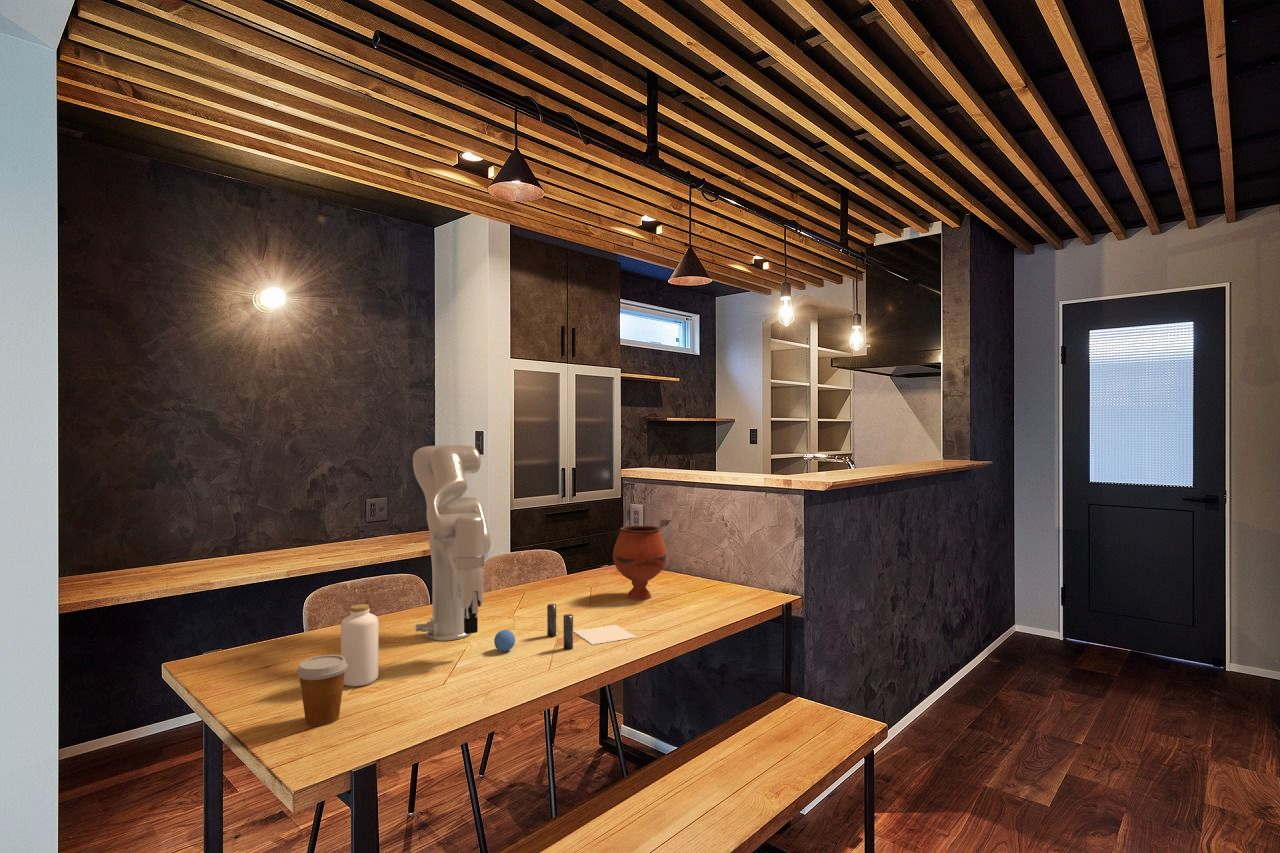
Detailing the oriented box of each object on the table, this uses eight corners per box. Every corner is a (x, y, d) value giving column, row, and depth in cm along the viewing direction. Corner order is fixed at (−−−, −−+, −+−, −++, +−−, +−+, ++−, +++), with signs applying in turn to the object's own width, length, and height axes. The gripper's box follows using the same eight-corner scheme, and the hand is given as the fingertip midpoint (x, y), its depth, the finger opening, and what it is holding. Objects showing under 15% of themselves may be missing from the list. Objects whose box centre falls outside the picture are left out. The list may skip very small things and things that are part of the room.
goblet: (676, 595, 243) (676, 526, 243) (647, 606, 227) (647, 533, 227) (632, 588, 253) (632, 522, 253) (602, 599, 237) (602, 528, 237)
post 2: (565, 650, 182) (565, 617, 182) (562, 647, 184) (562, 615, 184) (574, 649, 183) (574, 616, 183) (570, 646, 185) (570, 613, 185)
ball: (497, 655, 178) (497, 634, 178) (491, 649, 183) (491, 629, 183) (517, 652, 180) (517, 631, 180) (511, 646, 185) (511, 626, 185)
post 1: (549, 637, 193) (549, 606, 193) (546, 635, 195) (546, 604, 195) (557, 636, 194) (557, 605, 194) (554, 634, 196) (554, 603, 196)
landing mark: (592, 645, 186) (592, 644, 186) (573, 631, 198) (573, 631, 198) (636, 637, 193) (636, 636, 193) (615, 625, 205) (615, 624, 205)
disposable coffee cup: (321, 733, 132) (321, 672, 132) (286, 725, 136) (286, 666, 136) (357, 714, 141) (357, 657, 141) (323, 707, 145) (323, 651, 145)
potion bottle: (367, 672, 165) (367, 600, 165) (385, 680, 160) (385, 605, 160) (334, 682, 159) (334, 606, 159) (351, 691, 154) (351, 612, 154)
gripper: (449, 560, 182) (450, 628, 181) (462, 568, 168) (463, 641, 168) (476, 557, 185) (477, 624, 184) (491, 565, 172) (492, 637, 171)
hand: (470, 632), depth 176 cm, fingers closed
